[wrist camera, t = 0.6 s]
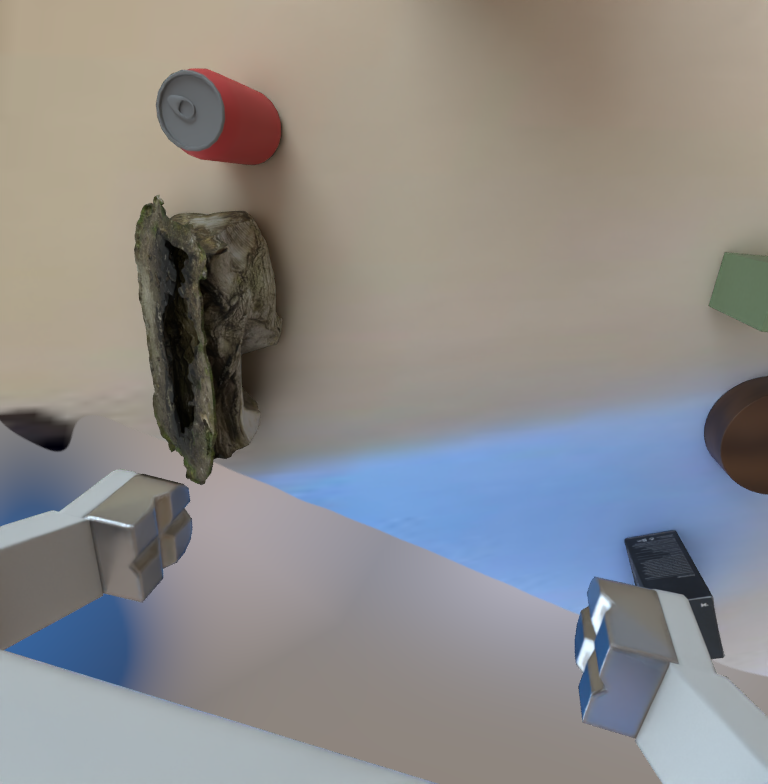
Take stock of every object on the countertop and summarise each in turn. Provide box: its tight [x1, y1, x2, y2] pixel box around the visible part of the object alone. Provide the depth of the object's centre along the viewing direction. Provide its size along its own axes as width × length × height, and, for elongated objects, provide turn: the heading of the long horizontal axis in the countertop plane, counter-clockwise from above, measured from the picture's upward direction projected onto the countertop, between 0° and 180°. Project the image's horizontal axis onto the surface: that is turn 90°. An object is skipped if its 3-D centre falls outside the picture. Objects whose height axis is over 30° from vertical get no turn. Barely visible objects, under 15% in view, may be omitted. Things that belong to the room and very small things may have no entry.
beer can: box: [156, 69, 281, 165], centre depth 46 cm, size 7×7×12 cm
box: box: [625, 531, 725, 659], centre depth 56 cm, size 8×6×11 cm
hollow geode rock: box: [134, 195, 282, 485], centre depth 54 cm, size 28×13×15 cm
